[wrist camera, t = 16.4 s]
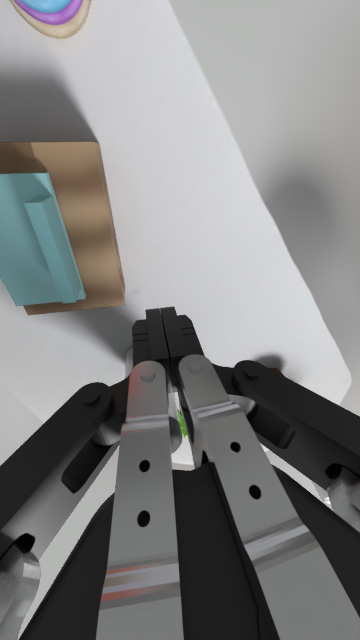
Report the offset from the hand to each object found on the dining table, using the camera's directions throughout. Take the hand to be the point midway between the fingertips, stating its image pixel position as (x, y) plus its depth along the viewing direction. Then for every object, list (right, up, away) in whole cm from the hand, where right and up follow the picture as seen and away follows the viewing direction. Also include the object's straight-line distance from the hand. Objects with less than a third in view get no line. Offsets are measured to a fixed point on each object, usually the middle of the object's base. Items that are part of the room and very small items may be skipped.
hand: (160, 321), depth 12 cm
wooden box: (-16, +13, +21) cm, 29 cm away
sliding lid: (-17, +9, +16) cm, 25 cm away
